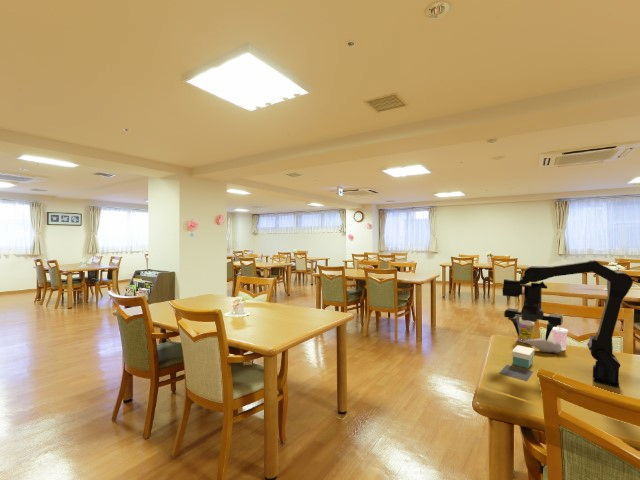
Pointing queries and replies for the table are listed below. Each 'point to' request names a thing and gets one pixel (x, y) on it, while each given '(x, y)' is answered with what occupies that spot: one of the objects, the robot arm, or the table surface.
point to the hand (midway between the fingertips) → (532, 338)
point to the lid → (523, 352)
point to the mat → (516, 372)
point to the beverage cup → (560, 336)
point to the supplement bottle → (526, 330)
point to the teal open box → (522, 362)
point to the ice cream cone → (545, 345)
